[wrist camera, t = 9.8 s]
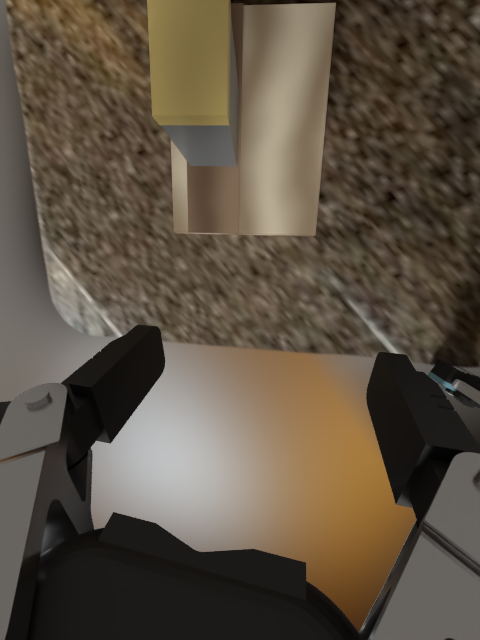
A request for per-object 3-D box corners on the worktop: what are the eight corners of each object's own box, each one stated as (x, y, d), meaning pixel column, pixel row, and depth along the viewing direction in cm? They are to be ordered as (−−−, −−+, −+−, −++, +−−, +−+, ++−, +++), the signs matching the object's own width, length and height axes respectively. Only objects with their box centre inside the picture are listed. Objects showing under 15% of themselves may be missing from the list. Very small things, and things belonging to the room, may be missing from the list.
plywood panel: (331, 16, 22) (336, 0, 21) (312, 236, 27) (315, 234, 25) (171, 19, 23) (165, 5, 22) (177, 233, 27) (173, 232, 26)
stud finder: (239, 89, 23) (228, -17, 14) (237, 167, 24) (226, 115, 15) (188, 90, 23) (146, -14, 14) (189, 166, 24) (152, 115, 16)
